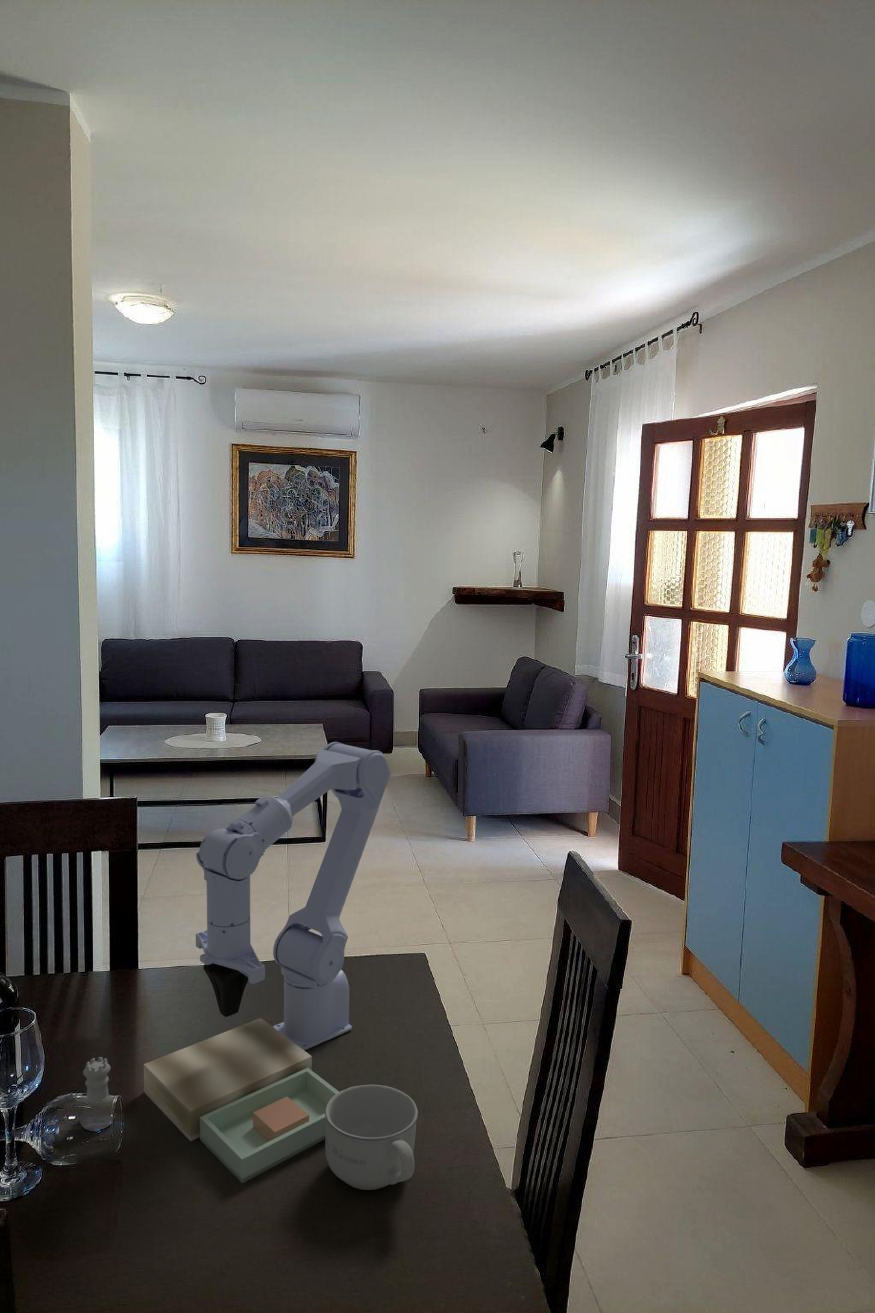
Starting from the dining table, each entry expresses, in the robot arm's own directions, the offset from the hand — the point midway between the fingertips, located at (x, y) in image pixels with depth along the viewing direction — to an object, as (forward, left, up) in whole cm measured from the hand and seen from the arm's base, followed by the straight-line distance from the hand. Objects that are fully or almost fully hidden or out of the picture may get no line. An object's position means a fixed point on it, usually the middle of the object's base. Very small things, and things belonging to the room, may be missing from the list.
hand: (229, 1013), depth 121 cm
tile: (+1, +15, -7) cm, 16 cm away
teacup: (-3, +29, -10) cm, 30 cm away
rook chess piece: (+17, -2, -10) cm, 20 cm away
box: (+1, +14, -9) cm, 17 cm away
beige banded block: (+1, +2, -9) cm, 10 cm away
